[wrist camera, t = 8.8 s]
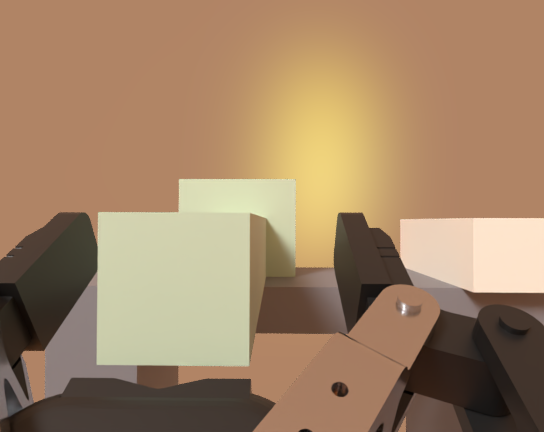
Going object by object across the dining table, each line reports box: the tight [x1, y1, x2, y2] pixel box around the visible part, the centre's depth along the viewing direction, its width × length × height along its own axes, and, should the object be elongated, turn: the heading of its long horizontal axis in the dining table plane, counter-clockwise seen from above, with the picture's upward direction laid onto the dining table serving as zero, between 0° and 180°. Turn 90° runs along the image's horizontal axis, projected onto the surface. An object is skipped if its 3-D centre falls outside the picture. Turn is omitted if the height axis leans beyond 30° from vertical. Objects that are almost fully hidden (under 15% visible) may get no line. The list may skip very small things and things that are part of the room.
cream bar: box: [400, 218, 544, 293], centre depth 20 cm, size 3×9×3 cm, turn 179°
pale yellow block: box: [97, 179, 296, 366], centre depth 15 cm, size 6×16×5 cm, turn 179°
